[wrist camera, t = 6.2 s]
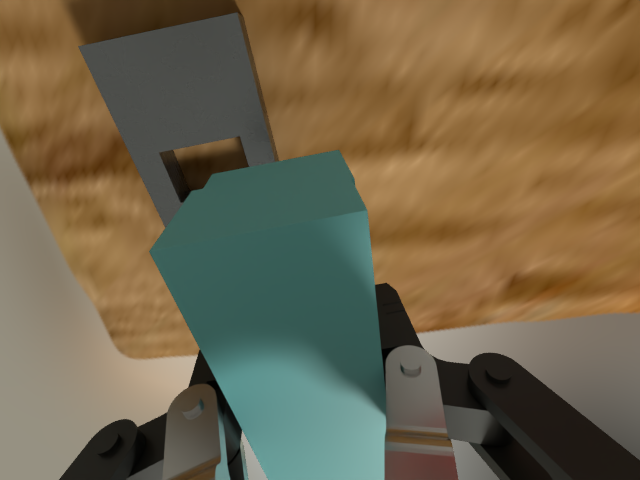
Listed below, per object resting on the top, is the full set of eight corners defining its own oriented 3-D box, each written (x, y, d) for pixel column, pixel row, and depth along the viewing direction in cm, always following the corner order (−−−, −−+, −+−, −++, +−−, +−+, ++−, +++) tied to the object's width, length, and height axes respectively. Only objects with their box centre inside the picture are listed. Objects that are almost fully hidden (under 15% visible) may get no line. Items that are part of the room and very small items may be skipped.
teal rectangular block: (337, 135, 11) (380, 207, 6) (366, 352, 16) (402, 488, 11) (207, 160, 11) (135, 253, 6) (280, 368, 17) (276, 511, 11)
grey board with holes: (243, 16, 22) (237, 12, 19) (314, 305, 35) (316, 322, 32) (99, 47, 22) (78, 46, 20) (224, 322, 35) (219, 339, 33)
